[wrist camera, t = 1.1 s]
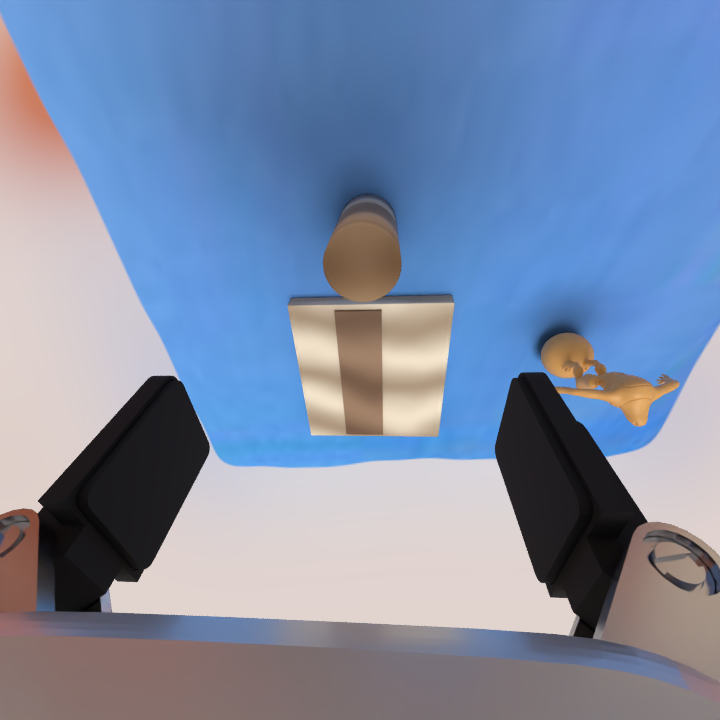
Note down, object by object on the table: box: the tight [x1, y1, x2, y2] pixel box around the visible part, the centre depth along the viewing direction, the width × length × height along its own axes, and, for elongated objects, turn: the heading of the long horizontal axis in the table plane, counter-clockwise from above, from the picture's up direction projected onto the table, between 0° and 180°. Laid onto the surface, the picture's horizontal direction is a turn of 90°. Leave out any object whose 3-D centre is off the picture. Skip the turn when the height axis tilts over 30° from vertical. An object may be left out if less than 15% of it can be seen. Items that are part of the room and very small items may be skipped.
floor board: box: [288, 295, 454, 437], centre depth 34 cm, size 16×14×2 cm
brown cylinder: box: [323, 194, 401, 302], centre depth 23 cm, size 4×4×9 cm
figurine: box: [541, 333, 679, 426], centre depth 26 cm, size 8×6×12 cm
